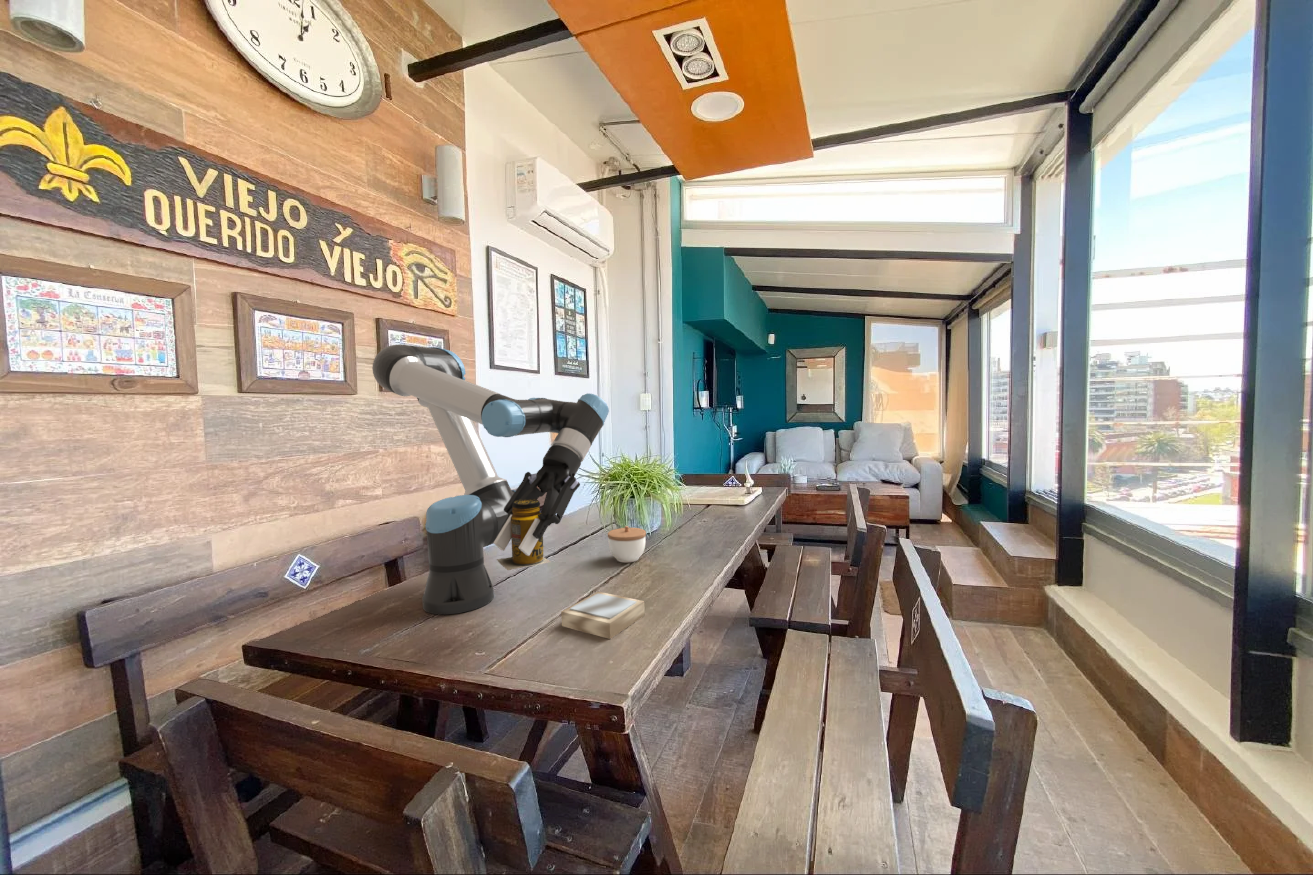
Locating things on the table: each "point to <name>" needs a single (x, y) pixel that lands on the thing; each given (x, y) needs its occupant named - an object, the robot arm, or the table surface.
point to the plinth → (603, 614)
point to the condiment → (523, 535)
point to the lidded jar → (627, 543)
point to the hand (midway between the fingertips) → (511, 549)
